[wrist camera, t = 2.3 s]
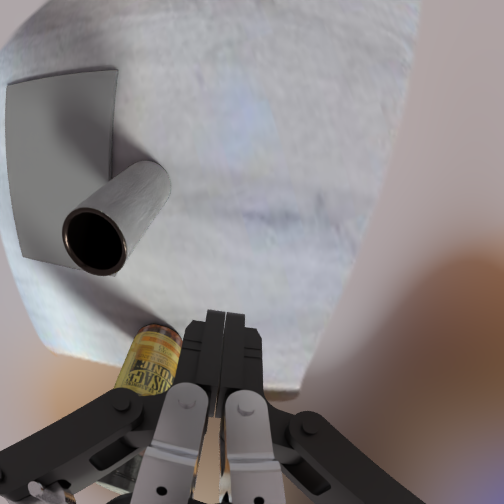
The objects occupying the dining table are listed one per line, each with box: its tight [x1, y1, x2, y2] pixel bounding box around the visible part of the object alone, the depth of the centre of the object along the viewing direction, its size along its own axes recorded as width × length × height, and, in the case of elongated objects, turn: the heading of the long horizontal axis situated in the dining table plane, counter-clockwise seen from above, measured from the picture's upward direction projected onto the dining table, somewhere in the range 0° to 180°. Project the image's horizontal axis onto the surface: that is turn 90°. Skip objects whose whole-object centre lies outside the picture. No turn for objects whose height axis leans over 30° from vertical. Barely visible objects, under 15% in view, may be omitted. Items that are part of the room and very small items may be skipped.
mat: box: [5, 70, 118, 277], centre depth 22 cm, size 20×14×1 cm
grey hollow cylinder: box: [62, 161, 171, 276], centre depth 19 cm, size 4×4×10 cm
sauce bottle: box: [96, 324, 183, 494], centre depth 25 cm, size 7×6×20 cm
